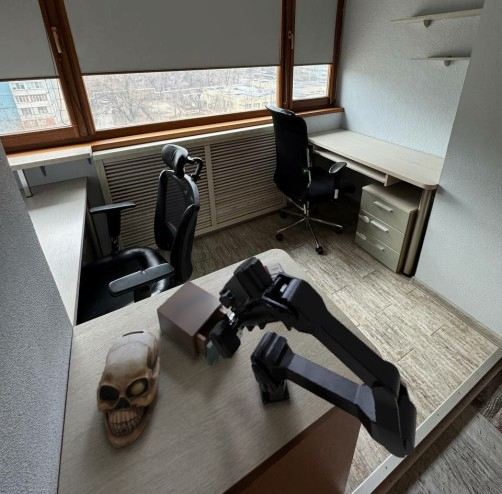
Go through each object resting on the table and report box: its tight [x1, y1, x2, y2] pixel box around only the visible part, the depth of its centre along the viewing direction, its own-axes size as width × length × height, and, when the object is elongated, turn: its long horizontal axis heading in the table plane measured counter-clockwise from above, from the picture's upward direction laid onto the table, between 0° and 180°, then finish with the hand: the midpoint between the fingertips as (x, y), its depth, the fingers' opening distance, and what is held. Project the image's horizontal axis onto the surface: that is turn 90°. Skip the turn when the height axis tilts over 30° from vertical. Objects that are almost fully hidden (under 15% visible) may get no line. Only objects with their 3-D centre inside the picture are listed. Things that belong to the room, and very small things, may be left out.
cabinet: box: [156, 279, 224, 360], centre depth 77 cm, size 14×12×9 cm
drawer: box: [195, 307, 235, 368], centre depth 74 cm, size 14×11×7 cm
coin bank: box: [96, 329, 161, 449], centre depth 62 cm, size 16×17×13 cm
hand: (225, 317), depth 67 cm, fingers open, 5 cm apart
